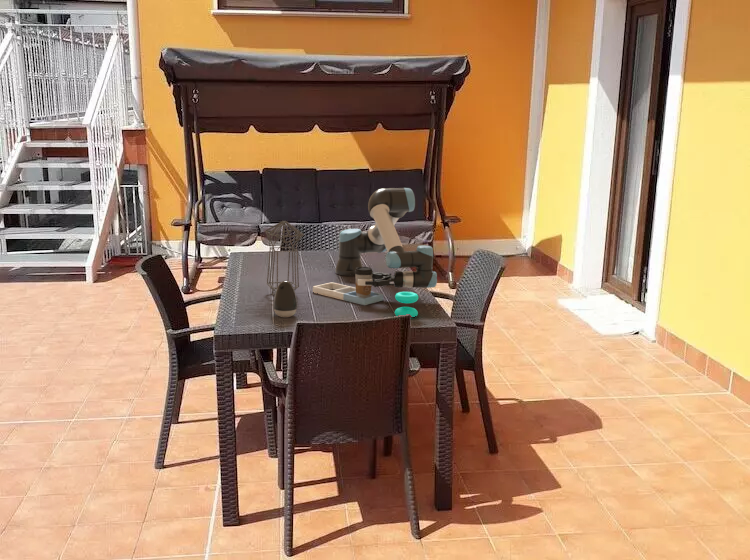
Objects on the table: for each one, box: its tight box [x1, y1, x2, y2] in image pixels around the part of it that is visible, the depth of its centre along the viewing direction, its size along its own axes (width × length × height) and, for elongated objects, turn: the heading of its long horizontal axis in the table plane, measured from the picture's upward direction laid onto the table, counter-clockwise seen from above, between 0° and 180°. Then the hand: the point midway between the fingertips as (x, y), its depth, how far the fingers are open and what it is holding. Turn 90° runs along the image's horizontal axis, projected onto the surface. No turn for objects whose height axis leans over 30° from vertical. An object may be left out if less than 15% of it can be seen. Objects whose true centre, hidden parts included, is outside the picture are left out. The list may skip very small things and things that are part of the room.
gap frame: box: [312, 281, 384, 306], centre depth 361 cm, size 13×33×3 cm, turn 49°
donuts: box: [394, 291, 420, 318], centre depth 329 cm, size 10×10×10 cm
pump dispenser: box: [272, 280, 298, 318], centre depth 324 cm, size 10×10×15 cm
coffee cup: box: [354, 266, 374, 298], centre depth 353 cm, size 8×8×15 cm
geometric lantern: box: [263, 220, 305, 297], centre depth 358 cm, size 16×16×35 cm
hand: (356, 279), depth 352 cm, fingers open, 13 cm apart
